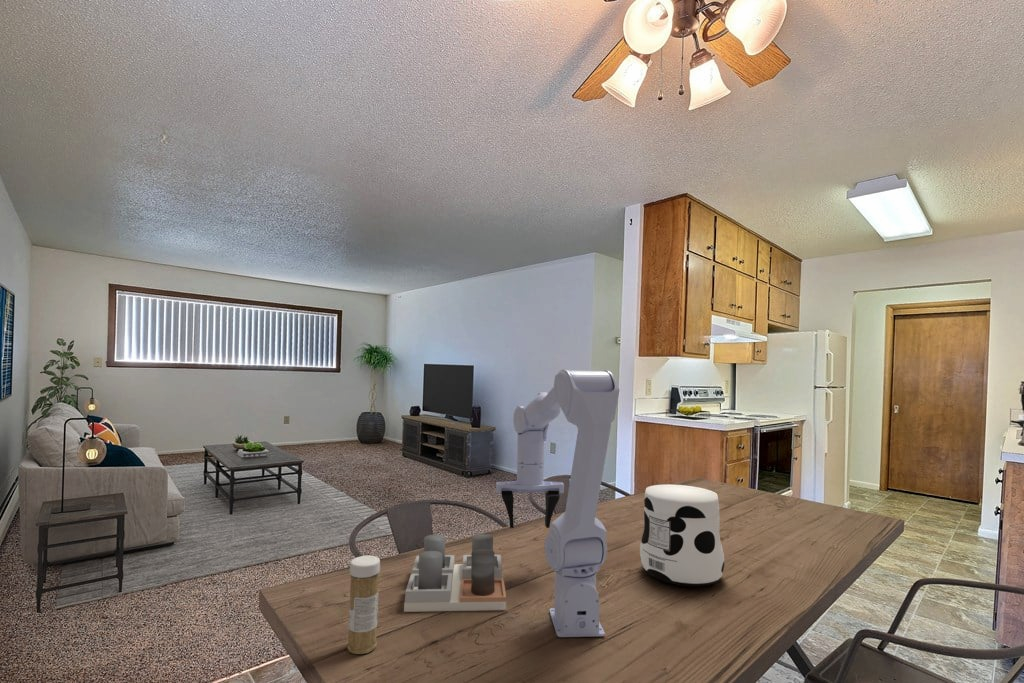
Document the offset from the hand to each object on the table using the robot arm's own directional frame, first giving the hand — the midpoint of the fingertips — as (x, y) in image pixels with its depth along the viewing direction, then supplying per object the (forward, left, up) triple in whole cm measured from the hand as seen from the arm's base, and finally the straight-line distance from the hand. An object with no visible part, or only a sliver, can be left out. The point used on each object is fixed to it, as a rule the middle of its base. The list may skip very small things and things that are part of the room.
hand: (529, 526), depth 109 cm
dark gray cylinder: (-11, +10, -9) cm, 17 cm away
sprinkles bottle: (-27, +29, -11) cm, 41 cm away
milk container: (-1, -33, -11) cm, 35 cm away
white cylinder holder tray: (-6, +15, -10) cm, 19 cm away
